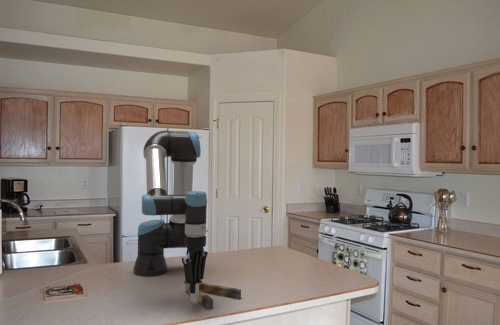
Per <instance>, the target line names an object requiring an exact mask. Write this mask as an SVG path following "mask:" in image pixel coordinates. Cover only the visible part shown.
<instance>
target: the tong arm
mask: <svg viewBox="0 0 500 325" xmlns="http://www.w3.org/2000/svg"><path fill="white" fill-rule="evenodd" d="M183 283H184V284H185V292H186V293H187V294H188V295H190V284H188V283H186V280H184V282H183ZM198 303H199V304H201V305H202V306H204V307H205V308H206V309H208V310H209V309H213V308H214V298H212V297H211V296H209V295H208V294H207V293H205V292H202V291H200V290H199V302H198Z"/></svg>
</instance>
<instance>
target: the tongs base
mask: <svg viewBox="0 0 500 325" xmlns="http://www.w3.org/2000/svg"><path fill="white" fill-rule="evenodd" d="M199 290H200V291H202V292H203V293H205V294H211V295H215V296H220V297H221V296H222V297H224V298H225V297H226V298H230V299H235V300H240V299H241V298H242V289H241V288H240V289H239V288H235V287H228V286H222V285H218V284H217V285H216V284H211V283H207V282H202V283H199Z"/></svg>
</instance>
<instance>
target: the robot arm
mask: <svg viewBox="0 0 500 325" xmlns="http://www.w3.org/2000/svg"><path fill="white" fill-rule="evenodd" d="M200 142H201V141H200V137H199V134H198V133H197V132H196V131H189V130H182V131H181V130H160V131H158V132H156V133H154V134H152V135H151V136H150V137H149V138H148V139H147V140H146V142H145V143H144V147H143V152H142V153H143V157H144V158H143V159H145V167H146V169H145V171H146V172H145V173H146V194H143V195H142V196H141V213H142V215H144V216H154V217H155V216H170V217H169V219H168V222H165V220H164V219H152V220H146V221H142V222H141V223H139V225H138V228H137V256H136V260H135V262H134V265H133V272H132V273H133V274H134V275H136V276H140V277H156V276H162V275H164V274H166V273H167V272H168V264H167V261H166V256H165V252H164V251H165V250H164V249H177V248H178V249H182V248H183V249H186V252H185V254H186V255H185V256H184V257H182V258H181V262H182V265H183V270H184V271H183V272H184V278H185V280H184V281H186V283H188V284H190V294H189V301H190V302H192V303H196V304H197V303H200V302H199V283H203V279H204V278H205V276H204V275H205V268H206V263H207V262H206V260H207V257H208V251H205V250H204V249H205V248H206V246H207V236H206V234H207V211H208V210H207V208H208V207H207V206H208V205H207V204H208V200H207V199H208V197H207V196H208V195H207V193H206V191H202V190H193V182H194V181H193V177H194V165H195V164H197V158H198V159H199V158H200V157H201V151H202V150H201V143H200ZM166 157H167V158H168V157H169V158H170V161H171V162H172V164H173V188H172V189H173V192H172V194H168V188H167V176H166V173H167V172H166V162H165V160H166Z"/></svg>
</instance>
